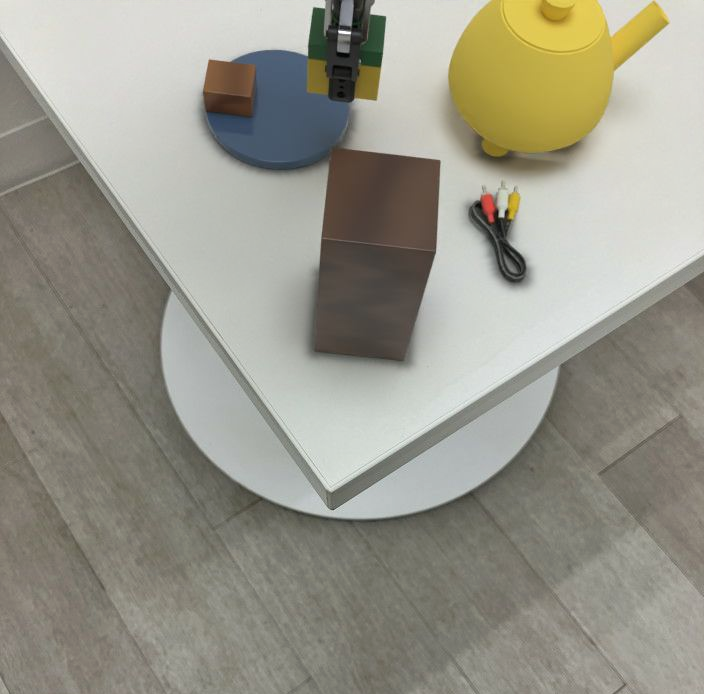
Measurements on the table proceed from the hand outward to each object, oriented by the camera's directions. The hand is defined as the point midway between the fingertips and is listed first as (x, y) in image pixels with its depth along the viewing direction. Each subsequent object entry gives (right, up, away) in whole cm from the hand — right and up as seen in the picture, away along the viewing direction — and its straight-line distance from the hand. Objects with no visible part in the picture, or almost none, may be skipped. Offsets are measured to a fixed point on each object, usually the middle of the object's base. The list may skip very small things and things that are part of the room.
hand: (343, 77), depth 68 cm
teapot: (+20, +3, +13) cm, 23 cm away
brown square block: (-11, +2, +9) cm, 14 cm away
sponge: (0, 0, 0) cm, 0 cm away
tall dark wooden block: (+2, -20, +3) cm, 20 cm away
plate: (-7, +2, +10) cm, 12 cm away
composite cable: (+14, -12, +7) cm, 20 cm away
